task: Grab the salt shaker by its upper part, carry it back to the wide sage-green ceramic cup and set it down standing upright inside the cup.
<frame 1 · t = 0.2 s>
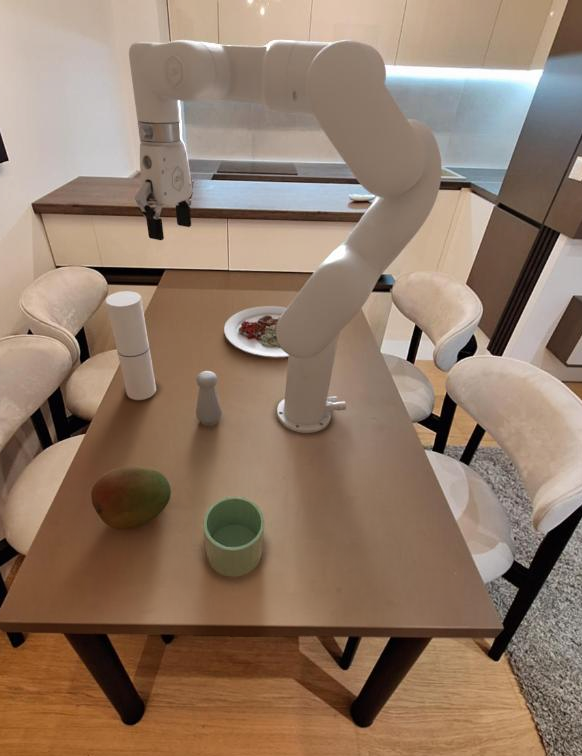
hand: (170, 232, 81), 37 cm above the table, tool pointing down, fingers open, 9 cm apart
fruit: (137, 511, 72), on the table
salt shaker: (209, 421, 92), on the table
cup: (234, 549, 67), on the table
plated food: (273, 334, 123), on the table
cylindrical container: (141, 391, 99), on the table
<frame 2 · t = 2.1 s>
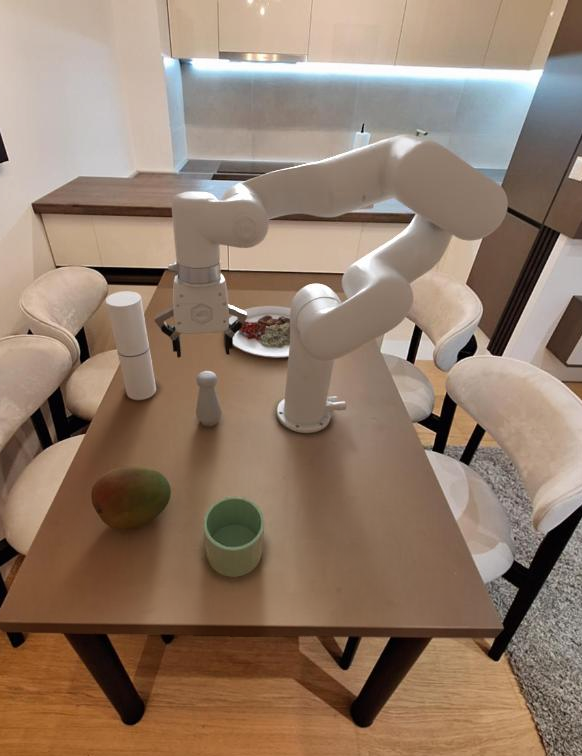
hand: (203, 352, 80), 19 cm above the table, tool pointing down, fingers open, 9 cm apart
nothing on the table moved.
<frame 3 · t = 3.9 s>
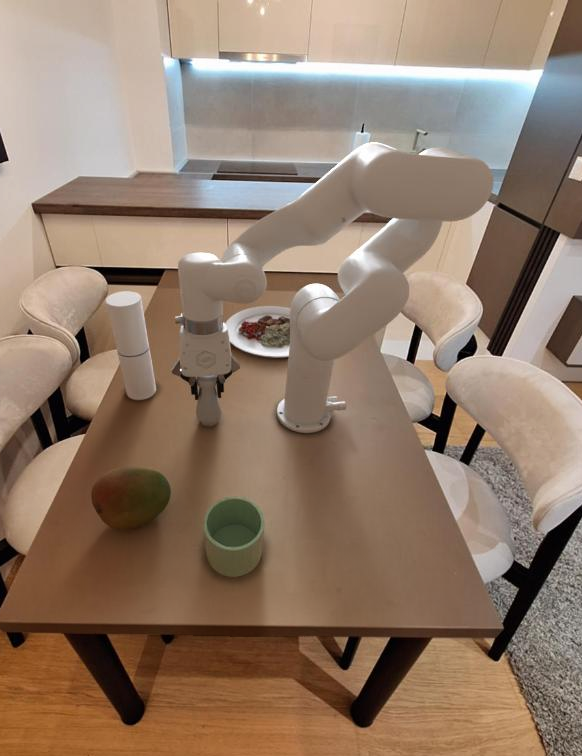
hand: (207, 394, 87), 8 cm above the table, tool pointing down, fingers closed on salt shaker, 4 cm apart
salt shaker: (209, 421, 92), on the table, touching gripper
everything else where it was.
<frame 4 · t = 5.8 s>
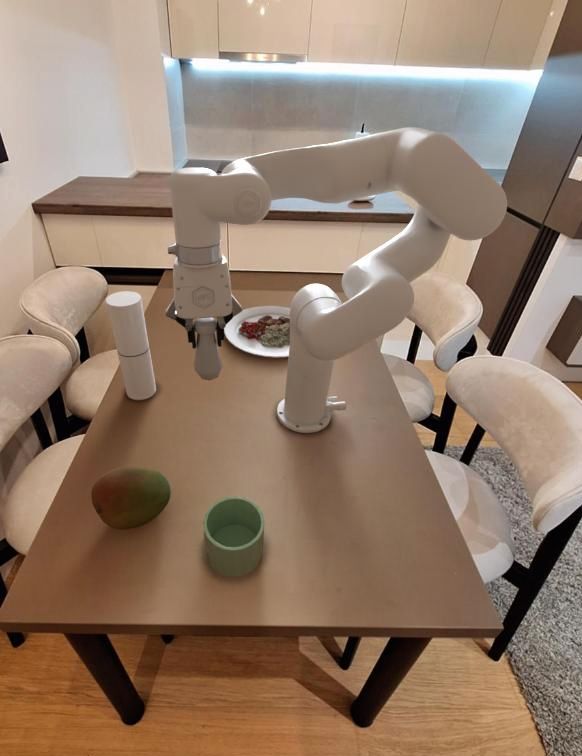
hand: (206, 343, 78), 21 cm above the table, tool pointing down, fingers closed on salt shaker, 4 cm apart
salt shaker: (209, 375, 83), point 13 cm above the table, touching gripper
everything else where it was.
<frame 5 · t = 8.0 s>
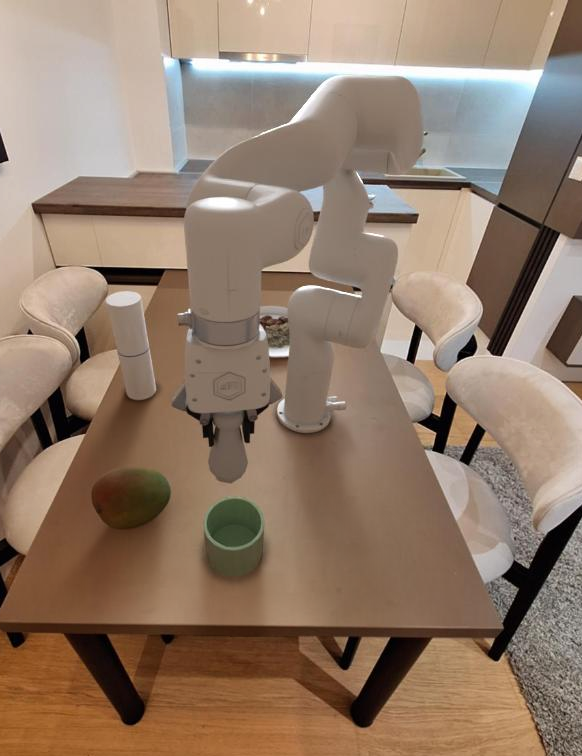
hand: (228, 436, 55), 23 cm above the table, tool pointing down, fingers closed on salt shaker, 4 cm apart
salt shaker: (228, 473, 60), point 15 cm above the table, touching gripper
everything else where it was.
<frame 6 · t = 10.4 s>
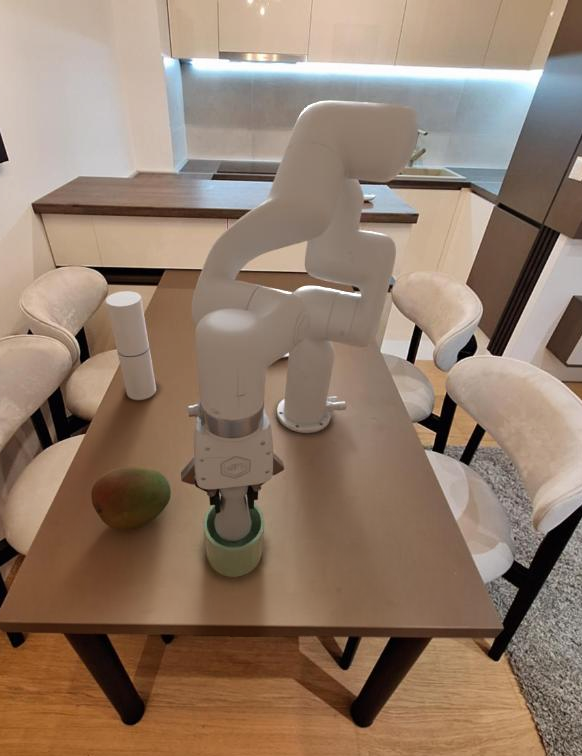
hand: (233, 502, 59), 13 cm above the table, tool pointing down, fingers closed on salt shaker, 4 cm apart
salt shaker: (233, 532, 64), point 5 cm above the table, touching gripper
everything else where it was.
when the fingers open (8 cm above the table, at t = 12.0 s): salt shaker stays where it is, resting on cup.
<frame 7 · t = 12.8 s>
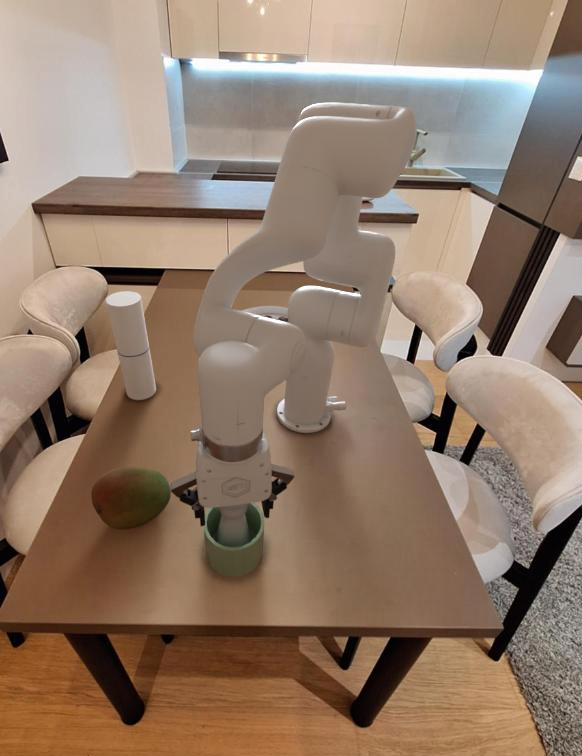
hand: (234, 513, 61), 10 cm above the table, tool pointing down, fingers open, 9 cm apart
salt shaker: (233, 547, 67), resting on cup
everything else where it was.
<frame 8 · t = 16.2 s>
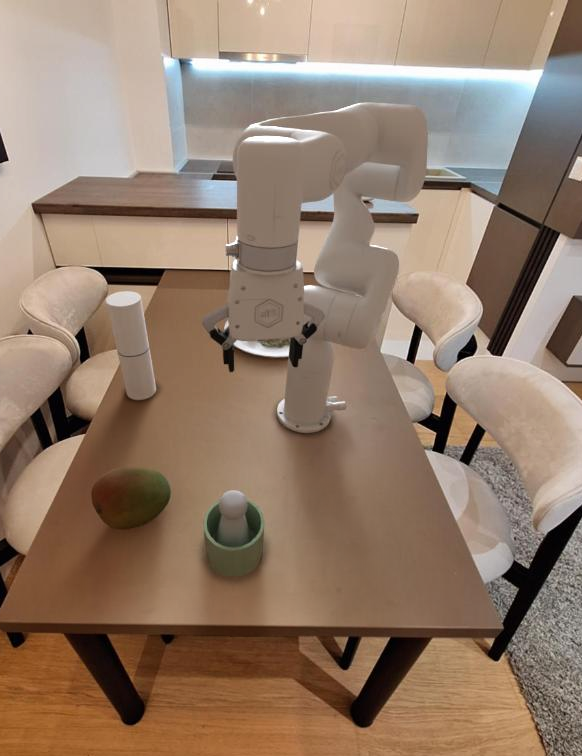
hand: (262, 364, 60), 28 cm above the table, tool pointing down, fingers open, 9 cm apart
nothing on the table moved.
at the end: salt shaker 0.1 cm off-centre in the cup, point 0.4 cm above the cup's base; salt shaker tilted 0°; the gripper is holding nothing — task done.
